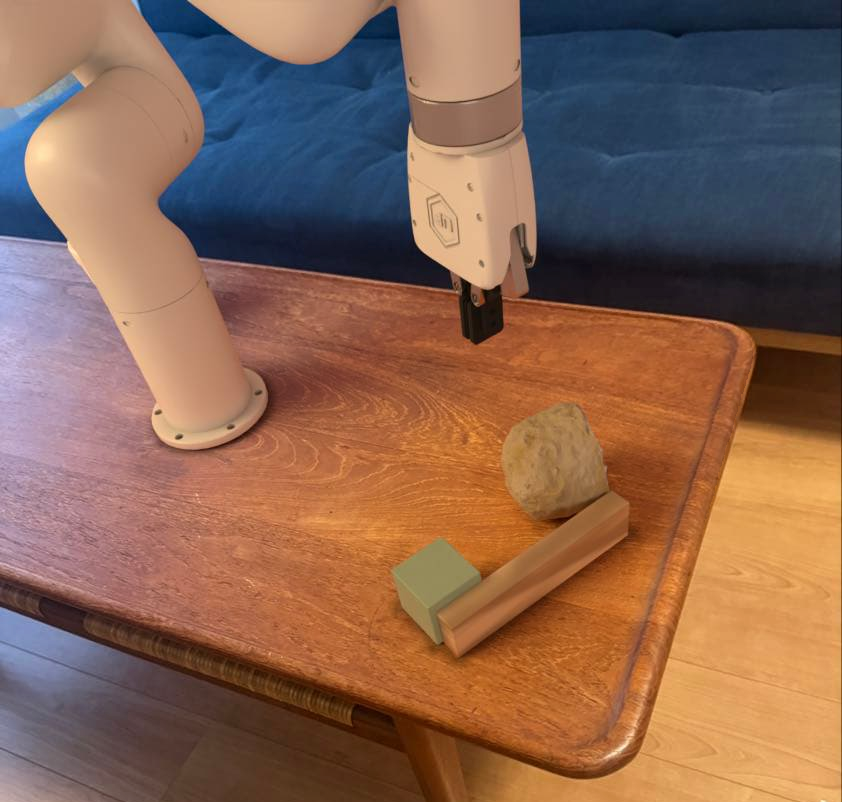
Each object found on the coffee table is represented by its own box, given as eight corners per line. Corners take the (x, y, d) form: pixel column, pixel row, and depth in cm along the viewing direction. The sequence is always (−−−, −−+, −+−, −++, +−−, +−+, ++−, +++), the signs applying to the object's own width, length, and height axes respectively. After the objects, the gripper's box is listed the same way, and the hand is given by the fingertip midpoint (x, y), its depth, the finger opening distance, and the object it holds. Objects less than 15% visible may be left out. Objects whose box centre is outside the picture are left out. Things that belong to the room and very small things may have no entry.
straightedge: (443, 641, 64) (435, 612, 61) (611, 522, 69) (611, 489, 66) (458, 658, 63) (451, 629, 60) (628, 535, 68) (629, 502, 65)
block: (401, 607, 67) (390, 569, 63) (449, 574, 69) (441, 535, 65) (437, 645, 64) (427, 608, 60) (487, 610, 66) (480, 572, 62)
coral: (658, 464, 63) (541, 454, 60) (602, 544, 71) (495, 538, 68) (622, 381, 69) (514, 368, 66) (574, 463, 77) (475, 455, 74)
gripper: (359, 97, 58) (396, 316, 72) (493, 163, 49) (506, 397, 63) (443, 61, 60) (463, 280, 74) (585, 118, 52) (578, 353, 66)
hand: (483, 333), depth 69 cm, fingers closed
